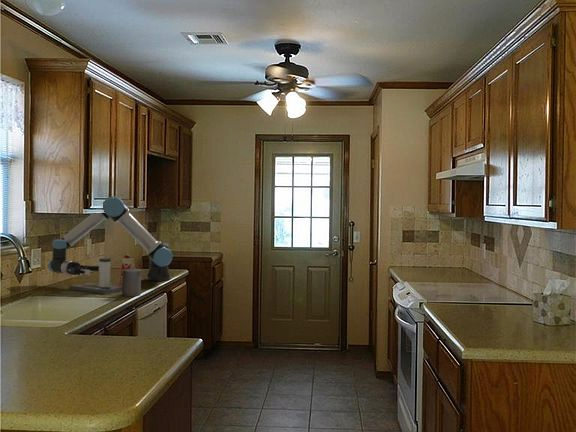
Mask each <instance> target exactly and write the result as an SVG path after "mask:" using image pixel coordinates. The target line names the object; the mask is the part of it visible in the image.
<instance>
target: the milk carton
mask: <svg viewBox="0 0 576 432" xmlns="http://www.w3.org/2000/svg"><path fill="white" fill-rule="evenodd" d="M135 264H136V263H135V258H133V257H132V256H131V254H129V253H128V252H126V255H124V256H123V257H122V262H121V266H120V270H119V271H120V272H119V278H118V283H117V286H118V287H122V284H123V270H124V269H136V265H135Z"/></svg>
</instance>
